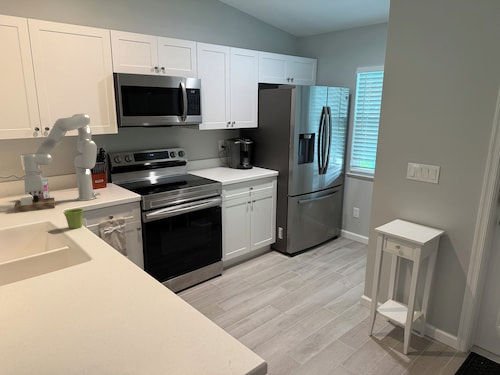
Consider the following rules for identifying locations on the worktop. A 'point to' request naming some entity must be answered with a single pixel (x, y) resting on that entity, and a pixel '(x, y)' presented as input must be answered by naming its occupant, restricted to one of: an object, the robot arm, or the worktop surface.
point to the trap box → (35, 205)
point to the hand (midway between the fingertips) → (36, 201)
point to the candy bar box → (46, 189)
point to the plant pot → (74, 218)
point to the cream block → (26, 201)
